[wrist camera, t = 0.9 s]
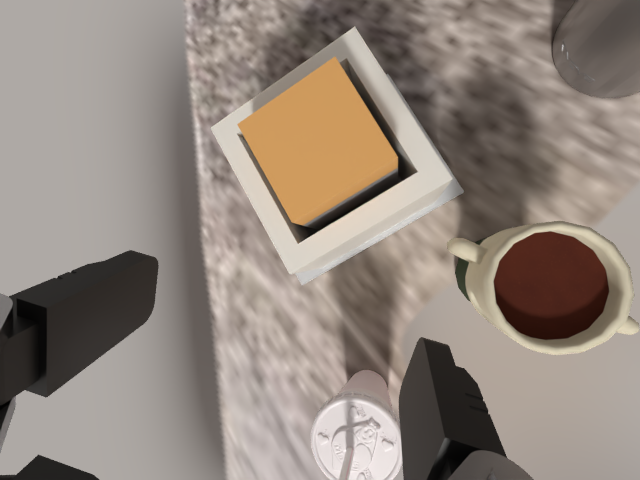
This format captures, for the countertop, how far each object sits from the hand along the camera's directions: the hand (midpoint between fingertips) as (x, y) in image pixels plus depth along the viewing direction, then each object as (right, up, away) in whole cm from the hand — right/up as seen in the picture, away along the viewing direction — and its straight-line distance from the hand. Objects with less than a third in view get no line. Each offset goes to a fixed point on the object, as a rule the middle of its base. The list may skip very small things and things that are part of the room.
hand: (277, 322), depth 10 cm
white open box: (+4, +8, +24) cm, 25 cm away
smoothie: (+6, -12, +23) cm, 26 cm away
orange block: (+2, +8, +18) cm, 20 cm away
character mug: (+16, 0, +21) cm, 27 cm away
